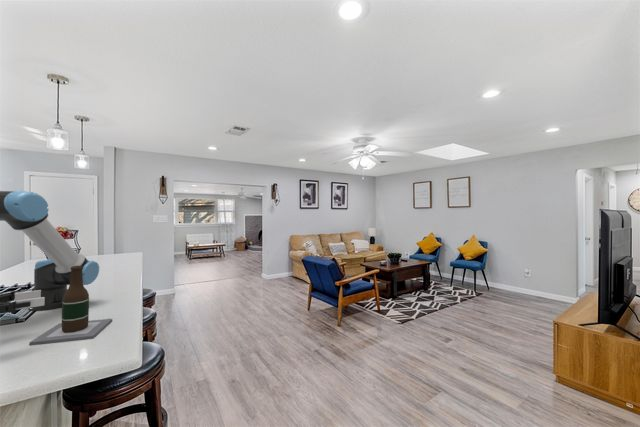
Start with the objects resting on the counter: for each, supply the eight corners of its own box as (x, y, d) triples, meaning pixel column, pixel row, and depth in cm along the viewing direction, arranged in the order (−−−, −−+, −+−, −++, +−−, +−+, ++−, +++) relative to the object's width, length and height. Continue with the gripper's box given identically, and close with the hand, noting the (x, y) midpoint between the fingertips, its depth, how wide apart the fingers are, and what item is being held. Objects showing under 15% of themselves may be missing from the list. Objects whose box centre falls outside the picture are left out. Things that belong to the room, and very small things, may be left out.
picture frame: (59, 325, 111) (59, 323, 111) (112, 320, 117) (112, 318, 117) (29, 345, 94) (29, 342, 94) (93, 338, 100) (93, 335, 100)
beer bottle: (72, 334, 101) (73, 268, 101) (55, 332, 103) (57, 267, 103) (93, 326, 109) (95, 265, 109) (77, 324, 110) (79, 264, 111)
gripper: (-53, 314, 91) (39, 300, 107) (-65, 336, 75) (45, 316, 91) (-52, 291, 91) (39, 281, 107) (-64, 308, 75) (46, 293, 91)
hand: (42, 297), depth 99 cm, fingers open, 13 cm apart
